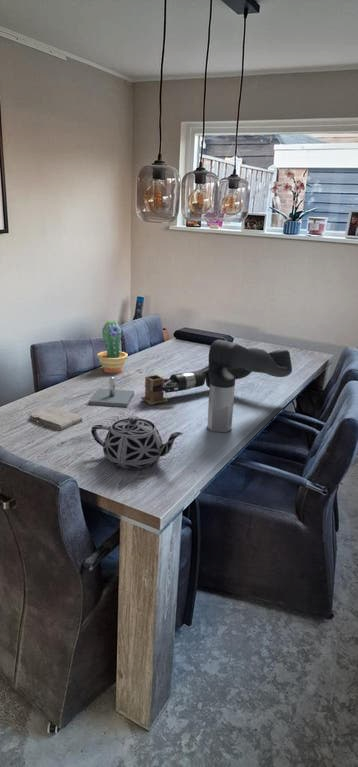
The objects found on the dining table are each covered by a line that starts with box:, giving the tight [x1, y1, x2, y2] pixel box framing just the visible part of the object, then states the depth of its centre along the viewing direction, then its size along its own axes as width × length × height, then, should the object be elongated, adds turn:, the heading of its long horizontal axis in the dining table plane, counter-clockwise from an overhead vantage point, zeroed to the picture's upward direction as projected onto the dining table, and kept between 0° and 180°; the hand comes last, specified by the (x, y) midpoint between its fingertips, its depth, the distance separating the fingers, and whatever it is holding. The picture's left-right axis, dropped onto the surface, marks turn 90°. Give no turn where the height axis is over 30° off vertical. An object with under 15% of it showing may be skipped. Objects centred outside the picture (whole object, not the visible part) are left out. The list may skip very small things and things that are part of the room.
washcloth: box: [28, 406, 83, 431], centre depth 194 cm, size 12×18×3 cm, turn 57°
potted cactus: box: [96, 320, 128, 374], centre depth 254 cm, size 15×15×25 cm
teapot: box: [90, 415, 184, 470], centre depth 163 cm, size 19×31×15 cm, turn 75°
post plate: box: [88, 376, 135, 408], centre depth 216 cm, size 16×16×10 cm
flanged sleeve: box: [140, 374, 168, 406], centre depth 215 cm, size 8×8×10 cm
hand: (149, 387), depth 213 cm, fingers closed on flanged sleeve, 5 cm apart
